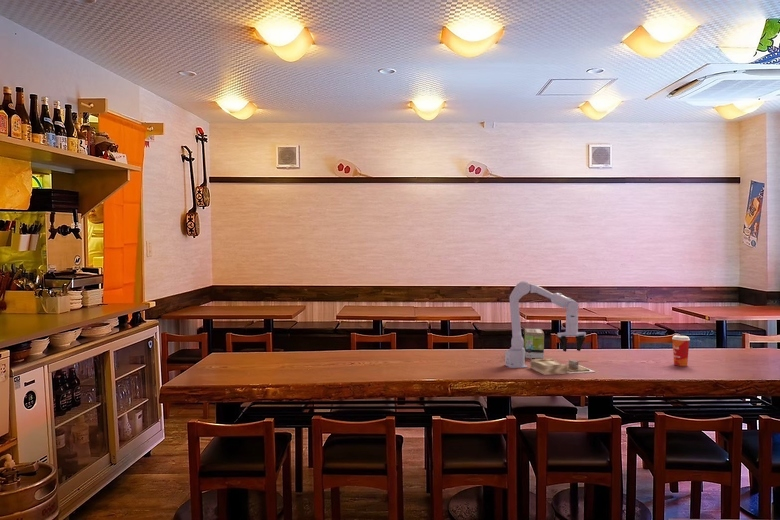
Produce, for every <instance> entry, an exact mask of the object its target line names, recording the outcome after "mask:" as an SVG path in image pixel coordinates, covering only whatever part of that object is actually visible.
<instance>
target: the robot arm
mask: <svg viewBox="0 0 780 520" xmlns="http://www.w3.org/2000/svg"><path fill="white" fill-rule="evenodd" d="M529 293H530V294H538V295H541V296H543V297H545V298H547V299H549V300H550V301H551V304H554V305H555V306H557V307H561V308H563V309H565V310H566V314H565V331H564V332H557V338H558V340H559V342H560V344H561V347H562V351H563V352H567V349H568V348H567V346H568V345H567V344H568V340H569V337H573V338H574V337H575V341H576V351H578V352H580V351H581V349H582V347H583V343H584V341H585V340H586V337H587V332H586V331H579V309H580V306H579V304H578V301H576V300H574V299H572V298H571V297H567V296H565V295H563V293H561V292H554V293H552V292H550V291H549V290H547V289H545V288H543V287H541V286H539V285H537V284H534V283H533V282H532V283H531V282H528V281H526V280H522V281H520V282H519V283H517V284H516V285H515V286H514V288H513V290H512V291H511V293H510V295H509V309H510V321H511V335H512V337H511V341H510V342H511V343H510V345H511V347H509V349H505V353H504V355H505V356H504V357H505V359H504V366H506V367H508V368H510V369H517V368H518V369H520V368H521V369H522V368H525V369H526V368H529V367H528V365H527V364H525V361H526V360H525V359H526V357H525V348H524V337H523V336H522V335H523V334H522V326H521V312H520V304H519V303H520V302H519V301H520V299H522V297H524V296H525V295H527V294H529Z"/></svg>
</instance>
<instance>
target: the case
mask: <svg viewBox="0 0 780 520" xmlns="http://www.w3.org/2000/svg"><path fill="white" fill-rule="evenodd" d="M530 369H532V370H534V371H536V372H537V373H540V374H542V375H544V376H547V375H565V374H566V375H567V374H568V373H567V364H564V363H563V364H562V363H560V362H557V361H555V359H554V358H543V359H530Z"/></svg>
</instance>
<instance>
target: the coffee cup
mask: <svg viewBox="0 0 780 520" xmlns="http://www.w3.org/2000/svg"><path fill="white" fill-rule="evenodd" d="M671 339H672V353H673V354H672V355H673V365H674V364H675V365H674V366H676V365H679V366H678V367H687V366H688V363H689V362H688V361H689V351H690V350H689V349H690V348H689V346H690V341H691V339H690V337H689V336H687V335H676V334H675V335H673V336H672V338H671Z"/></svg>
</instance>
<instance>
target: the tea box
mask: <svg viewBox="0 0 780 520" xmlns="http://www.w3.org/2000/svg"><path fill="white" fill-rule="evenodd" d="M523 339H524V346H523V348H525V359H532V358H535V359H534V360H536V359H545V358H544V355H545V354H544V353H545V333H544V331H543V329H542V328H541V329H540V328H524V337H523Z"/></svg>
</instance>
